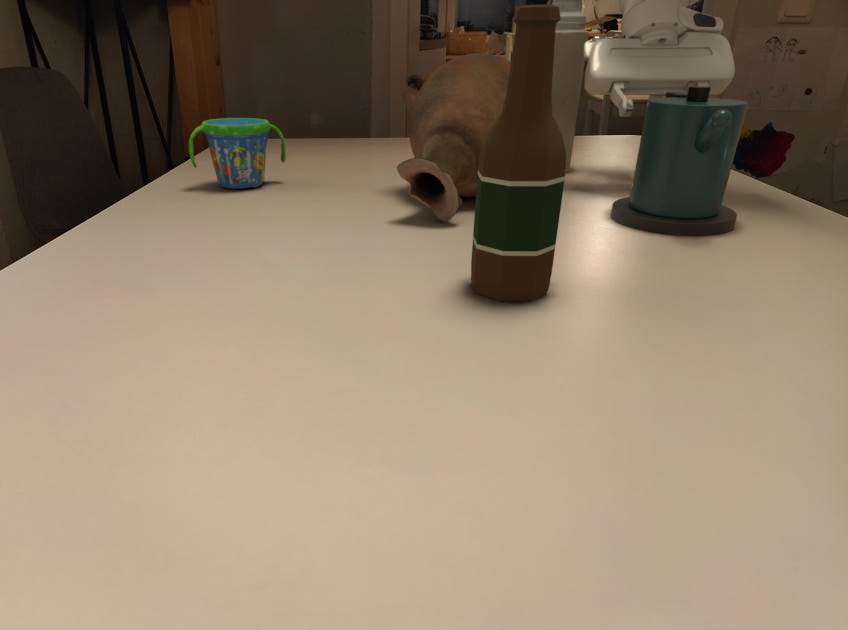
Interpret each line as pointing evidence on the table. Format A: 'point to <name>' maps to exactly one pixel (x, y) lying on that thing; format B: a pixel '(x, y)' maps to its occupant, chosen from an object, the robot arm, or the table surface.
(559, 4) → the thermos bottle
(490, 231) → the beer bottle
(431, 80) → the jug
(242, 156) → the snack cup
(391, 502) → the table surface
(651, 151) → the kettle
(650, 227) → the kettle base
